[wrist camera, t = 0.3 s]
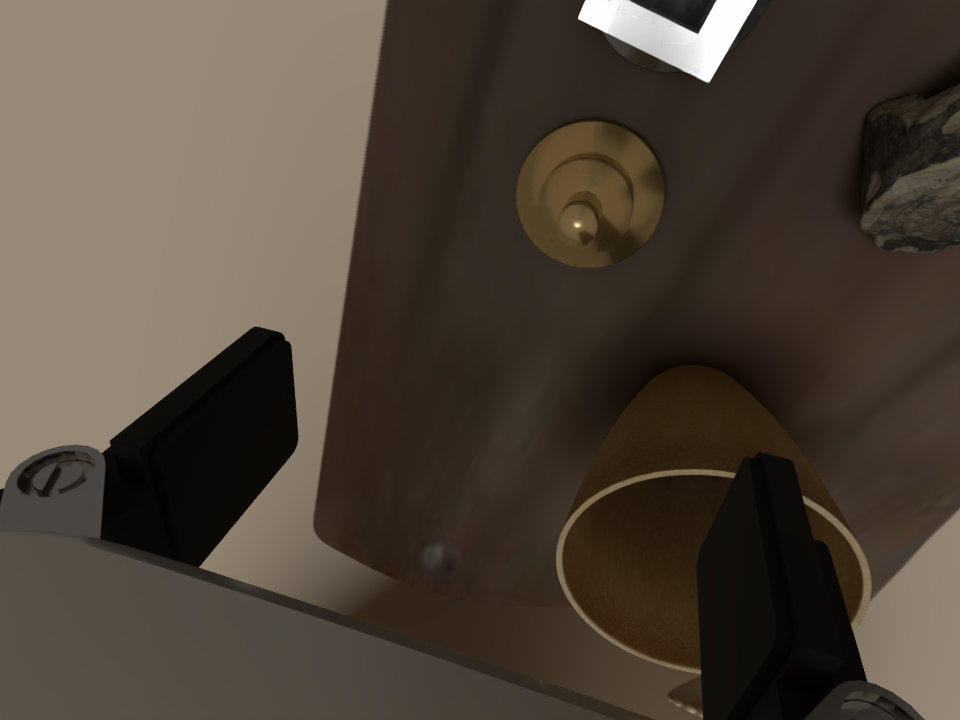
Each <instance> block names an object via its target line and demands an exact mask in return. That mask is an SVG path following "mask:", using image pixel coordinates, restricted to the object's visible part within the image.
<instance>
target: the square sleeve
mask: <svg viewBox="0 0 960 720" xmlns="http://www.w3.org/2000/svg"><path fill="white" fill-rule="evenodd" d="M756 1H757V0H711V1H710V3H709V5H708V7H707V8H706V10H705V12H704V14H703V16H702V18H701V20H700V21H699V23H698V25H697V27H696V29H695V28H693V27H691V26H689V25H686V24H684V23H682V22H680V21H678V20H676V19H674V18H672V17H670V16H668V15H666V14H664V13H662V12H660V11H658V10H656V9H654V8H652V7H650V6H648V5H646V4H644V3H642V2H640V1H638V0H585V3H584V5H583V7H582V10H581V12H580V14H579V17H578V19H579V20H582V21H584V22H586V23H588V24H590V25H592V26H594V27H596V28H598V29H600V30H602V31H604V32H606V33H608V34H610V35H612V36H614V37H616V38H618V39H620V40H622V41H624V42H626V43H628V44H630V45H632V46H634V47H636V48H638V49H640V50H642V51H644V52H647V53H649V54H651V55H653V56H655V57H657V58H659V59H661V60H663V61H665V62H667V63H669V64H671V65H673V66H675V67H677V68H679V69H681V70H683V71H685V72H687V73H689V74H691V75H693V76H695V77H697V78H699V79H701V80H703V81H705V82H707V83H709V82H710V80H711V78H712V77H713V75H714V73H715V71H716V70H717V68H718V66H719V65H720V63H721V61H722V59H723V58H724V56H725V54H726V53H727V51H728V49H729V47H730V46H731V44H732V42H733V41H734V39H735V37H736V35H737V34H738V32H739V30H740V28H741V27H742V25H743V23H744V22H745V20H746V18H747V16H748V15H749V13H750V11H751V10H752V8H753V6H754V4H755V3H756Z"/></svg>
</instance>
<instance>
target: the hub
mask: <svg viewBox="0 0 960 720" xmlns="http://www.w3.org/2000/svg"><path fill="white" fill-rule="evenodd" d="M664 193H665V188H664V177H663V172H662V169H661V166H660V163H659V160H658V158H657V156H656V155H655V153H654V151H653V150H652V148H651V147H650V146H649V144H648V143H647V142H646V141H645V140H644V139H643V138H642V137H641V136H640V135H638V134H637V133H636V132H635V131H633V130H631V129H630V128H628V127H626V126H624V125H622V124H619V123H617V122H613V121H609V120H604V119H583V120H577V121H574V122H570V123H567V124H565V125H563V126H561V127H558V128H557V129H555V130H554V131H552V132H550V133H549V134H548V135H547V136H545V137H544V138H543V139H542V140H541V141H540V142H539V143H538V144H537V145H536V146H535V148H534V149H533V150H532V151H531V153H530V154H529V156H528V157H527V159H526V160H525V162H524V164H523V166H522V169H521V172H520V174H519V178H518V182H517V190H516V204H517V210H518V214H519V217H520V221H521V223H522V225H523V228H524V230H525V231H526V233H527V235H528V236H529V238H530V239H531V240H532V241H533V243H534V244H535V245H536V246H537V247H538V248H539V249H540V250H541V251H543V252H544V253H545V254H547V255H548V256H550V257H551V258H553V259H555V260H557V261H559V262H561V263H564V264H567V265H570V266H575V267H581V268H596V267H603V266H608V265H611V264H614V263H617V262H619V261H622V260H624V259H626V258H627V257H629V256H630V255H632V254H634V253H635V252H636V251H637V250H638V249H640V248H641V247H642V246H643V245H644V244H645V243H646V241H647V240H648V239H649V238H650V236H651V235H652V233H653V232H654V230H655V228H656V226H657V224H658V222H659V219H660V217H661V214H662V209H663V205H664Z"/></svg>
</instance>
